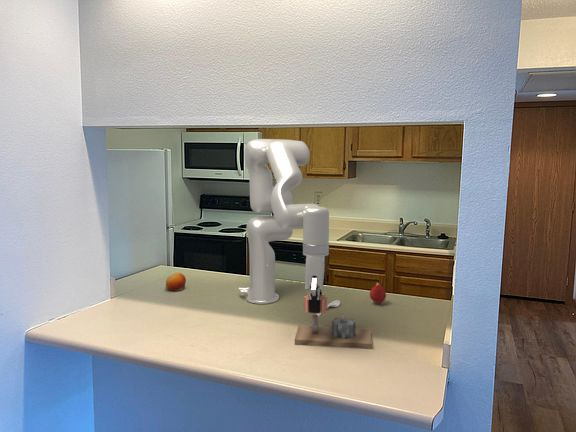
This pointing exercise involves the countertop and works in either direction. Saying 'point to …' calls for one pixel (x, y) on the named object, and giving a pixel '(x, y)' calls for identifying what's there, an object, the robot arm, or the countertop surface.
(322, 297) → the pink gear
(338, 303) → the spoon
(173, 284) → the fruit
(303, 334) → the gear board
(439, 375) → the countertop surface
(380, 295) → the onion
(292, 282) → the countertop surface
